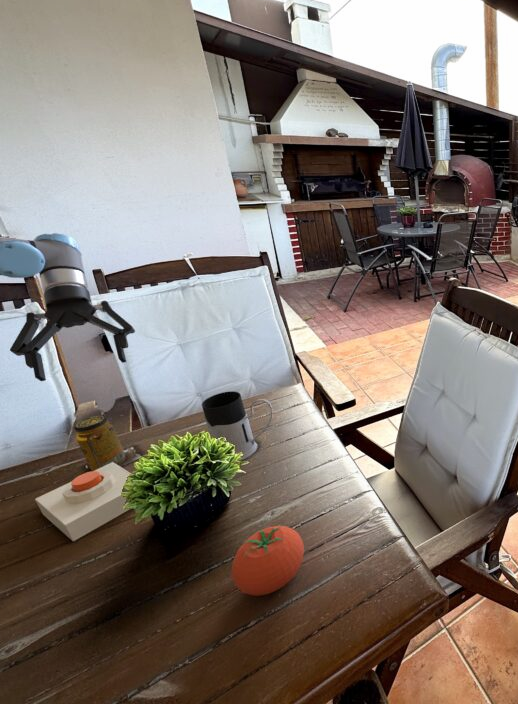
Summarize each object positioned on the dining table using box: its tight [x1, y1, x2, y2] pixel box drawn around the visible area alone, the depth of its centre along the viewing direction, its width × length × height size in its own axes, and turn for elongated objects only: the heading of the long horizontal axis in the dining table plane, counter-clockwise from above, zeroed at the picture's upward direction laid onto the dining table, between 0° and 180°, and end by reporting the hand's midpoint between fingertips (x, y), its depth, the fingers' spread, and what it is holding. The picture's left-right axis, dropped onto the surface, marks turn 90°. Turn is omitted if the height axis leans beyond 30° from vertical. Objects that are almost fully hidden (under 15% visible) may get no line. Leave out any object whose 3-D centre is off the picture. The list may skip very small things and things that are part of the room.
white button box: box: [34, 462, 132, 542], centre depth 81 cm, size 14×12×6 cm
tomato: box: [231, 525, 305, 597], centre depth 66 cm, size 10×10×10 cm
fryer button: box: [70, 470, 102, 492], centre depth 80 cm, size 4×4×2 cm
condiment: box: [74, 415, 142, 471], centre depth 92 cm, size 7×8×12 cm
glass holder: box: [201, 390, 274, 461], centre depth 96 cm, size 9×14×15 cm, turn 105°
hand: (83, 369), depth 92 cm, fingers open, 13 cm apart
